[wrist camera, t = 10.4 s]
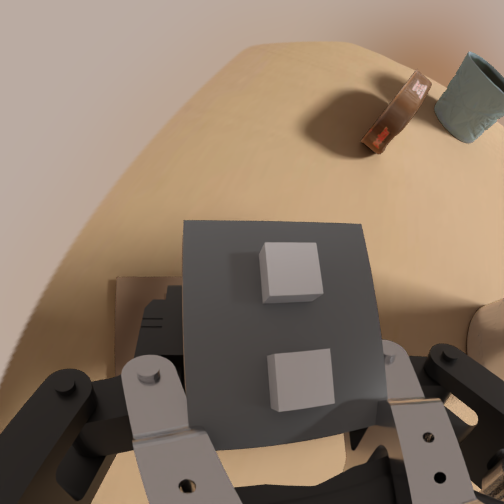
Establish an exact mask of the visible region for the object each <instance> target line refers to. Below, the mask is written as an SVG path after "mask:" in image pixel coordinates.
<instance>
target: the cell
mask: <svg viewBox="0 0 504 504" xmlns="http://www.w3.org/2000/svg"><path fill="white" fill-rule="evenodd" d="M182 320H183V353H184V375H185V393H186V398H187V413H188V425H189V427H190V426H198V425H199V426H203V427H204V429H205V430H206V432H207V434H208V436H209V438H210V441H211V443H212V445H213V447H214V449H215V451H218V450H234V449H246V448H257V447H266V446H274V445H281V444H288V443H295V442H301V441H307V440H312V439H318V438H323V437H328V436H332V435H337V434H342V433H346V432H350V431H354V430H358V429H362V428H366V427H370V426H373V425H375V422H376V413H377V404H378V401H382V400H388V396H387V383H386V372H385V362H384V353H383V345H382V337H381V329H380V322H379V315H378V309H377V302H376V296H375V290H374V284H373V279H372V273H371V268H370V263H369V258H368V253H367V248H366V243H365V239H364V234H363V230H362V225H361V224H348V223H319V222H282V221H212V220H184V226H183V242H182Z"/></svg>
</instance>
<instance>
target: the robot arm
mask: <svg viewBox="0 0 504 504" xmlns="http://www.w3.org/2000/svg"><path fill="white" fill-rule="evenodd" d="M382 345H383V353H384V362H385V372H386V383H387V396H388V400H382V401H378V404H377V413H376V422H375V425H373V426H370V427H366V428H362V429H358V430H354V431H350V432H346V433H344V441H345V451H346V461H345V466H344V469H343V472H342V473H340V474H339V475H337V476H335V477H333V478H331V479H329V480H327V481H325V482H323V483H321V484H319V485H316V486H284V485H268V484H264V485H256V486H246V487H235V488H234V487H233V485H232V483H231V481H230V479H229V477H228V475H227V473H226V472H225V470H224V468H223V466H222V464H221V461H220V459H219V457H218V455H217V453H216V451H215V449H214V447H213V445H212V443H211V441H210V438H209V436H208V434H207V432H206V430H205V429H204V427H203V426H199V425H198V426H190V427H189V425H188V413H187V398H186V393H185V375H184V353H183V320H182V285H168V287H167V293H166V299H153V300H152V301H151V302H150V303H149V304H148V305H147V306H146V307H145V309H144V313H143V317H142V322H141V328H140V331H139V335H138V340H137V345H136V350H135V355H134V359H132V360H130V361H129V362H128V363H127V364H126V365H125V366H124V367H123V369H122V373H121V374H120V375H118V376H116V377H113V378H109V379H104V380H99V381H93V382H91V380H90V378H89V377H88V376H87V375H86V374H85V373H84V372H82V371H80V370H77V369H63V370H59V371H56V372H54V373H53V374H51V375H50V376H49V377H48V378H47V379H46V380H45V381H44V382H43V383H42V384H41V385H40V387H39V388H38V389H37V390H36V391H35V392H34V394H33V395H32V396H31V397H30V398H29V400H28V401H27V402H26V403H25V404H24V406H23V407H22V408H21V409H20V410H19V412H18V413H17V414H16V415H15V417H14V418H13V419H12V420H11V422H10V423H9V424H8V425H7V427H6V428H5V429H4V430H3V432H2V433H1V434H0V504H91V502H92V500H93V498H94V496H95V494H96V493H97V491H98V489H99V487H100V485H101V483H102V481H103V479H104V477H105V475H106V474H107V472H108V470H109V468H110V466H111V464H112V462H113V460H114V458H115V457H116V455H117V453H122V452H127V451H131V450H134V452H135V456H136V460H137V464H138V468H139V471H140V475H141V478H142V482H143V485H144V488H145V492H146V495H147V498H148V501H149V504H504V298H503V299H500V300H498V301H495V302H493V303H490V304H488V305H485V306H483V307H481V308H480V309H478V311H477V312H476V313H475V314H474V316H473V318H472V320H471V323H470V326H469V331H468V337H467V355H466V354H465V353H464V352H462V351H461V350H459V349H458V348H456V347H454V346H452V345H449V344H436V345H434V346H433V347H432V348H431V350H430V352H429V354H428V356H427V357H421V356H408V354H407V352H406V351H405V349H404V348H403V347H401V346H400V345H398V344H397V343H395V342H392V341H389V340H383V339H382ZM451 393H452V394H453V395H454V396H455V397H457V398H458V399H459V400H461V401H462V402H463V403H465V404H466V405H467V406H468V407H470V408H471V409H472V410H473V411H475V412H476V414H477V416H478V423H477V425H474V426H470V425H468V424H466V423H465V422H464V421H462V420H461V419H460V418H459V417H458V416H456V415H455V414H454V413H453V412H451V411H450V410H449V409H448V408H446V407H445V406H444V404H445V402H446V400H447V399H448V397H449V396H450V394H451ZM471 481H472V482H473V483H474V484H476V485H477V486H478V487H479V488H480V489H481V491H479V492H477V491H475V490H473V487H472V484H471Z"/></svg>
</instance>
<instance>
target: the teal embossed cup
mask: <svg viewBox="0 0 504 504" xmlns="http://www.w3.org/2000/svg"><path fill="white" fill-rule="evenodd" d="M434 110H435V114H436V116H437V118H438V119H439V121H440V122H441V124H442V125H443V126H444V127H445V128H446V129H447V130H448V131H449V132H450V133H451V134H452V135H453V136H454V137H456V138H457V139H458V140H460V141H462V142H464V143H472V142H473V141H474V140H476V139H477V138H478V137H479V136H480V135H482V133H483V132H484V130H487V129H488V128H490V127H491V126H492V125H493V124H494V123H496V122H497V119H500V118H501V117H503V116H504V78H503V77H502V75H501V74H500V73H499V72H498V71H497V70H496V69H494V67H493V66H491V65H490V64H489V63H488V62H487V61H485V60H484V59H483V58H481V57H480V56H478V55H476V54H475V53H472V52H468V53H467V56H466V57H465V59H464V61H463V62H462V64H461V66H460V67H459V69H458V71H457V72H456V75H455V76H454V77H453V79H452V80H451V81H450V83H449V85H448V87H447V90H446V91H445V92H444V93H443V94H442V95H441V97H440V99H439V100H438V101H437V103H436V104H435V108H434Z"/></svg>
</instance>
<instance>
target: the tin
mask: <svg viewBox="0 0 504 504" xmlns="http://www.w3.org/2000/svg"><path fill="white" fill-rule="evenodd" d="M431 85H432V83H431V82H430V81H429V80H428V79H427V78H426V77H425V76H424V75H422V74H421V73H420V72H419V71H418V70H416V71H415V72H414V73H413V75H412V76H411V77H410V79H409V80H408V81H407V82H406V84H405V85H404V86H403V87H402V88H401V90H400V91H399V92H398V94H397V95H396V96H395V97H394V99H393V100H392V101H391V103H390V104H389V105H388V106H387V108H386V109H385V110H384V112H383V113H382V114H381V115H380V117H379V118H378V119H377V121H376V122H375V123H374V125H373V126H372V127H371V128H370V130H369V131H368V132H367V133H366V135H365V136H364V137H363V139H362V140H361V142H362V143H364V144H365V145H367V146H368V147H369V148H370V149H371V150H373V151H374V152H375V153H377V154H381V153H383V151H384V150H385V148H386V146H387V145H388V143H389V142H390V141H391V140H392V139H393V138H394V137H395V136H396V135H397V134H399V133H400V132H401V131H402V130H403V129H404V128H405V126H406V125H407V124H408V123H409V121H410V120H411V119H412V117H413V116H414V115H415V113H416V112H417V110H418V109H419V107H420V106H421V104H422V102H423V101H424V99H425V97H426V95H427V93H428V91H429V90H430V88H431Z"/></svg>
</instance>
